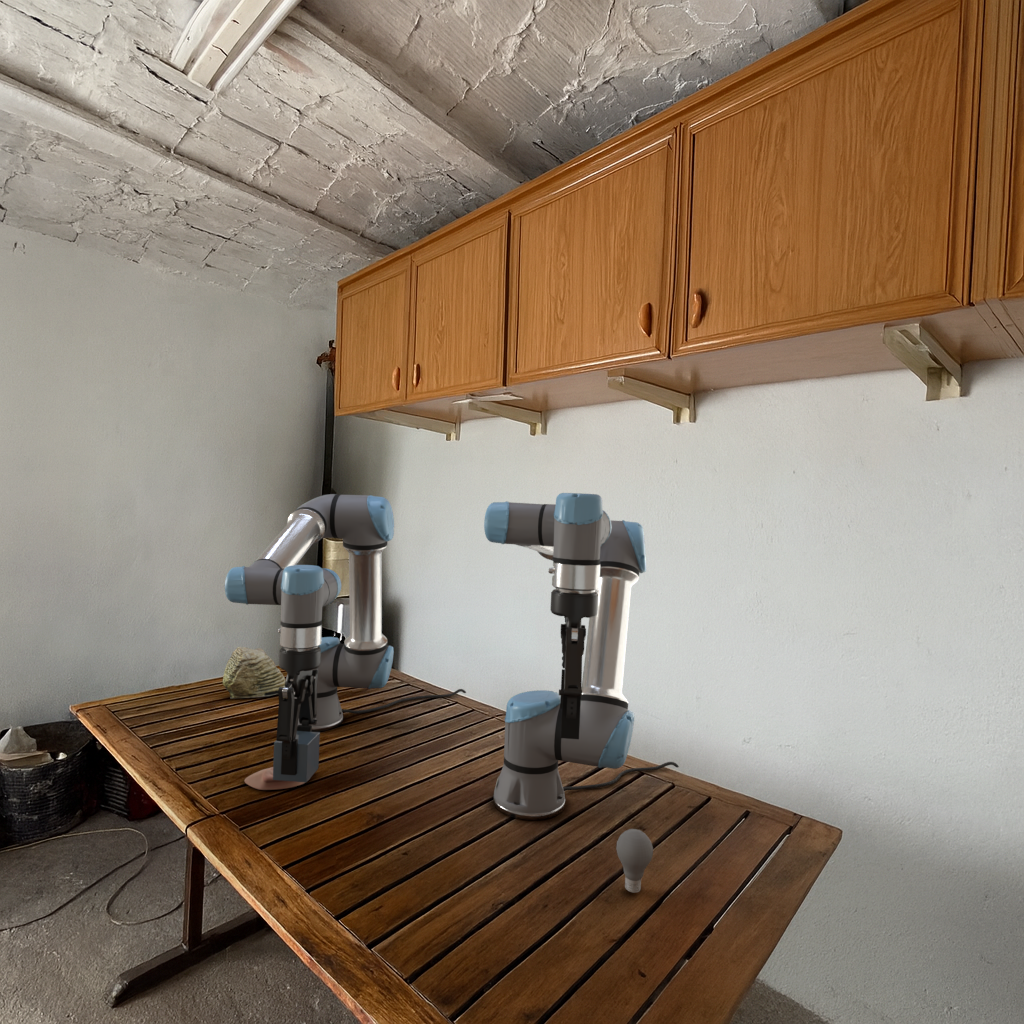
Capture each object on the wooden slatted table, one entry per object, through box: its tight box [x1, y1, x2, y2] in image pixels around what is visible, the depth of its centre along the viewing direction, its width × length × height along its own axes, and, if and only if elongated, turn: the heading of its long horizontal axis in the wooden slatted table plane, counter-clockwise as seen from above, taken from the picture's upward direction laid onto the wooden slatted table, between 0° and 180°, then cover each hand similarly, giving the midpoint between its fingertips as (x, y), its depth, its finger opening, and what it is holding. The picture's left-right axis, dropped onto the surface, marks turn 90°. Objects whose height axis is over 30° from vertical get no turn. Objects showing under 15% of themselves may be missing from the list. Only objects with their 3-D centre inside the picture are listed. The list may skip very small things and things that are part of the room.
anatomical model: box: [244, 766, 307, 791], centre depth 141 cm, size 13×4×12 cm
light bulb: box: [615, 828, 654, 894], centre depth 106 cm, size 6×6×10 cm
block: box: [272, 731, 321, 783], centre depth 122 cm, size 6×6×7 cm
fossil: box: [222, 646, 286, 699], centre depth 198 cm, size 9×18×15 cm, turn 132°
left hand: (296, 765), depth 122 cm, fingers closed on block, 6 cm apart
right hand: (568, 722), depth 101 cm, fingers open, 13 cm apart
